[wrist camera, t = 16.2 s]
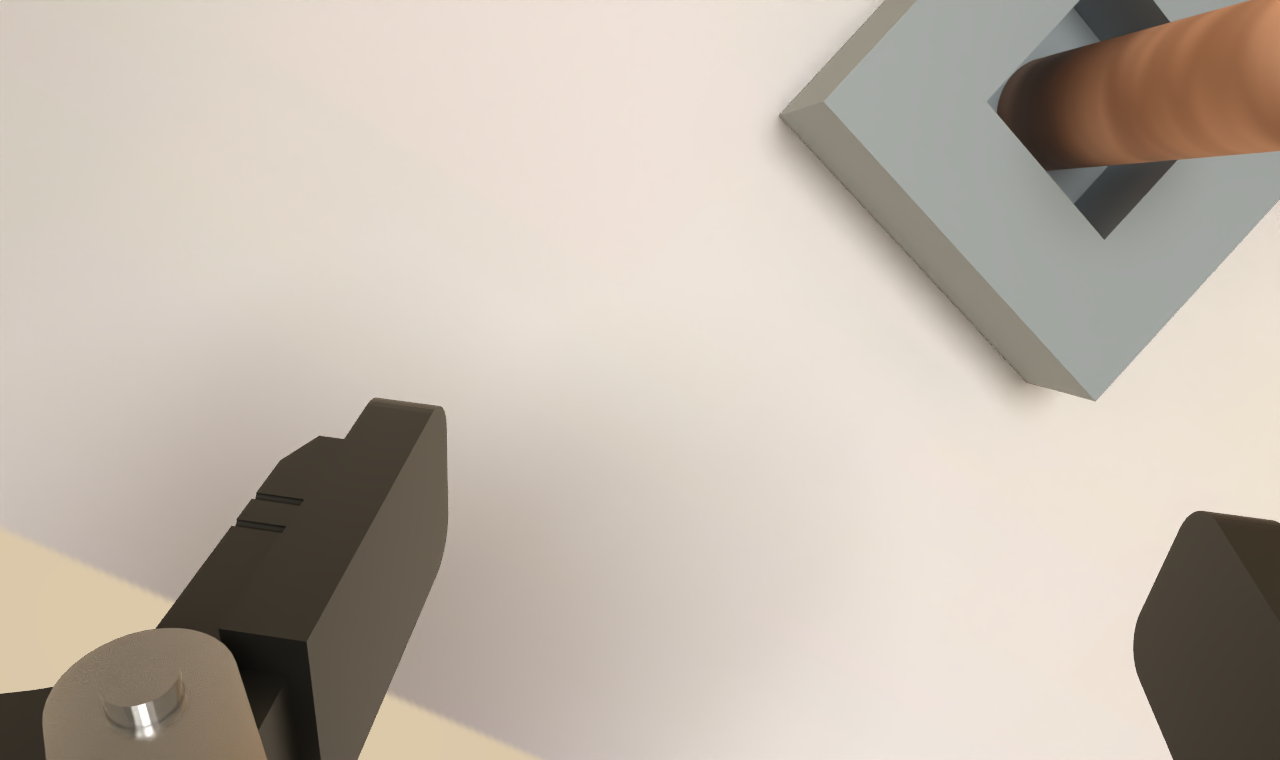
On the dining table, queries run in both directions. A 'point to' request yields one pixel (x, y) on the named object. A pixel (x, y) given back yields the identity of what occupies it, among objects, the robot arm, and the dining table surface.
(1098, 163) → the dowel
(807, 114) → the pocket block
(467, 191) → the dining table surface
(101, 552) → the dining table surface
